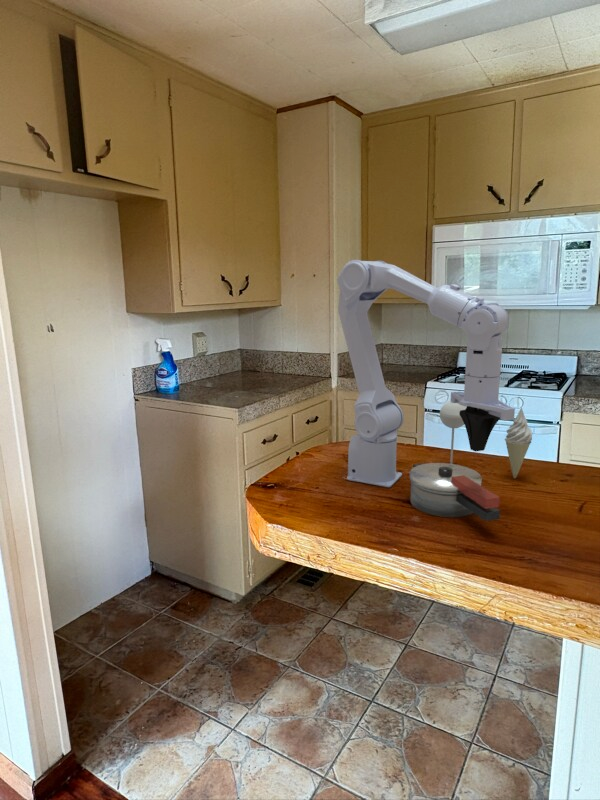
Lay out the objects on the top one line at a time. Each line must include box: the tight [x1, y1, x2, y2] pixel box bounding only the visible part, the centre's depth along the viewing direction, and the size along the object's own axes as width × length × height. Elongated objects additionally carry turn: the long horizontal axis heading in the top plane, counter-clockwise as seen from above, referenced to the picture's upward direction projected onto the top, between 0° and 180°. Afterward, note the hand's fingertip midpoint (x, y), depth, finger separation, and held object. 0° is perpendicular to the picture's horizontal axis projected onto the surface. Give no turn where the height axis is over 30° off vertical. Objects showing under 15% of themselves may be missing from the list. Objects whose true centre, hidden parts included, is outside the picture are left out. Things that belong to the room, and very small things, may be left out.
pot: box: [409, 462, 501, 522], centre depth 95 cm, size 18×18×5 cm
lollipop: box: [439, 400, 467, 464], centre depth 113 cm, size 6×6×15 cm
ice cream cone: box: [504, 407, 533, 479], centre depth 107 cm, size 5×5×15 cm
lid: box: [409, 462, 501, 509], centre depth 92 cm, size 20×13×2 cm, turn 16°
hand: (477, 449), depth 94 cm, fingers closed
